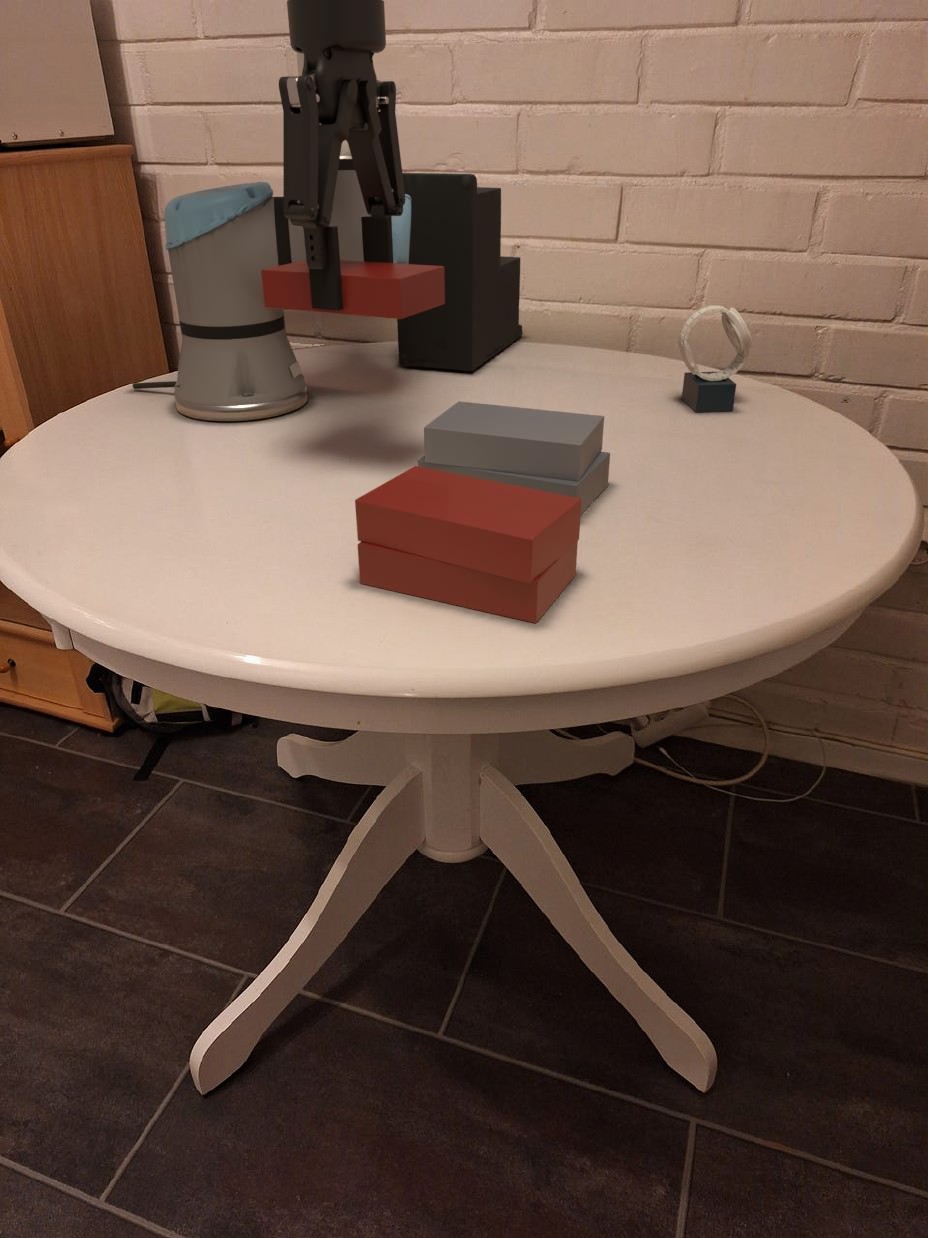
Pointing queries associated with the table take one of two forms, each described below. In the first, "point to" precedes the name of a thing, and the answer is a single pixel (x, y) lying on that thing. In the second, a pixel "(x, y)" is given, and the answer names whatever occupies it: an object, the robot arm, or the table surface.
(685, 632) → the table surface
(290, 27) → the robot arm
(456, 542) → the red stack top
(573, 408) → the table surface
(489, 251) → the bookend
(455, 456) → the grey book top
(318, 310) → the red book
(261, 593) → the table surface
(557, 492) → the grey book low
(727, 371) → the ring sculpture
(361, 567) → the red stack low
